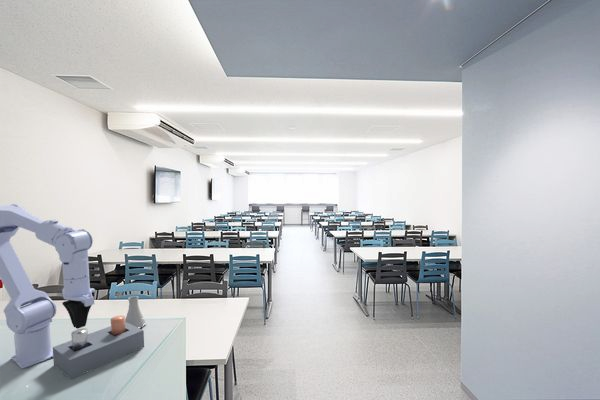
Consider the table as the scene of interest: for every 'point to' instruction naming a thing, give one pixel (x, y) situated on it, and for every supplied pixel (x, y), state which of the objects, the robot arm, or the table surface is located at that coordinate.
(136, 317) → the flask
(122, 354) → the plug panel
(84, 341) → the steel plug
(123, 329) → the terracotta plug
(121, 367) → the table surface
